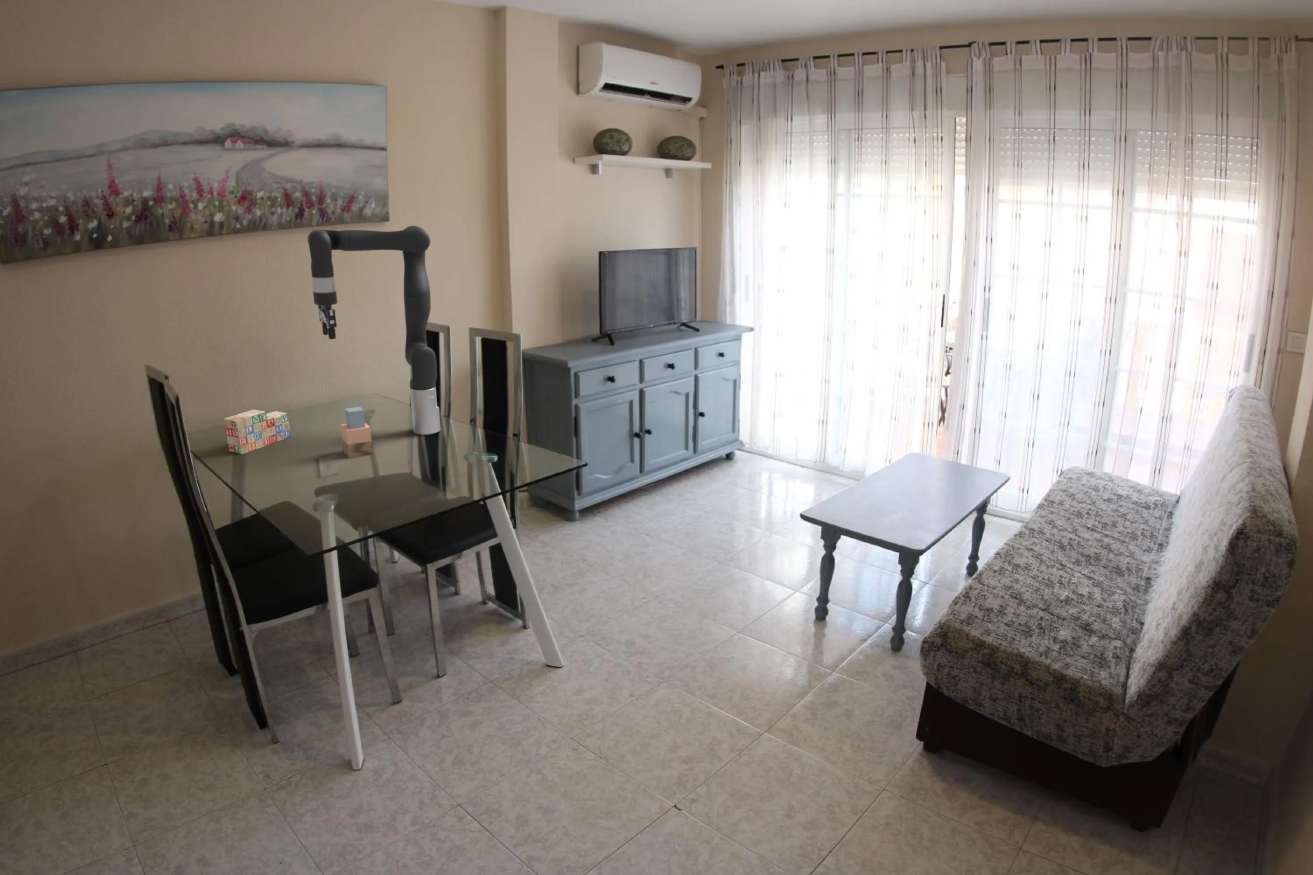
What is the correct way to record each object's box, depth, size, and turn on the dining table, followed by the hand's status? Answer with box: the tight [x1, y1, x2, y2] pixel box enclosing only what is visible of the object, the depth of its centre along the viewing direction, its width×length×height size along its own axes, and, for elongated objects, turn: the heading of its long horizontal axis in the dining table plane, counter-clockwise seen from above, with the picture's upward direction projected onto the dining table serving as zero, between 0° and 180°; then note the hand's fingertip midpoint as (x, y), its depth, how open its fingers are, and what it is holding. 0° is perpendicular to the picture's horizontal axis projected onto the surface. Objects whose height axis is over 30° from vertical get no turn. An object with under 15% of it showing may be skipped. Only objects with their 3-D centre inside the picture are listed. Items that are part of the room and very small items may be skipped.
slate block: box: [344, 406, 366, 429], centre depth 276 cm, size 5×5×6 cm
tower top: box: [340, 422, 373, 445], centre depth 278 cm, size 8×8×5 cm
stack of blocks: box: [223, 409, 292, 455], centre depth 285 cm, size 21×6×12 cm, turn 156°
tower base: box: [341, 438, 374, 459], centre depth 280 cm, size 8×8×5 cm
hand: (329, 336), depth 281 cm, fingers open, 8 cm apart
